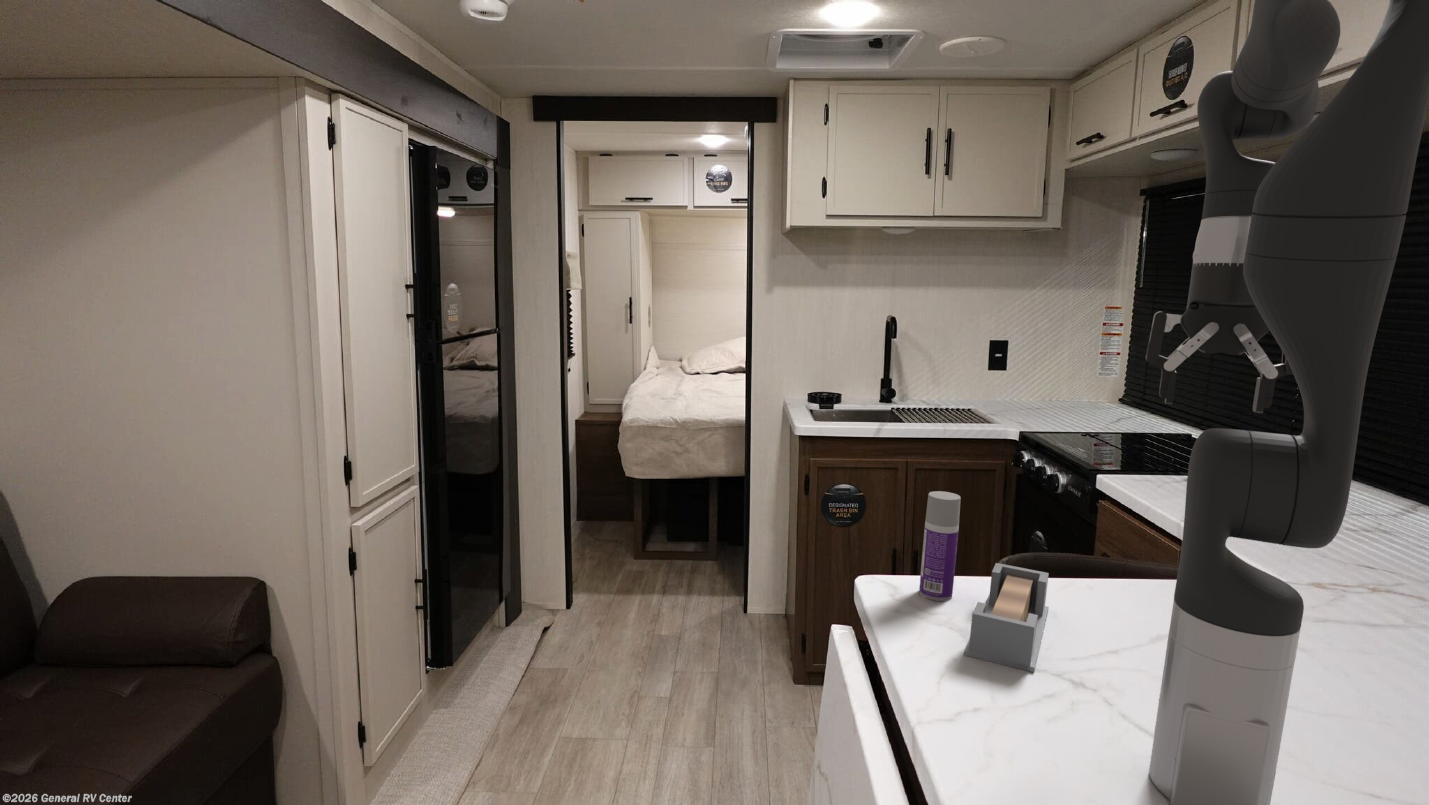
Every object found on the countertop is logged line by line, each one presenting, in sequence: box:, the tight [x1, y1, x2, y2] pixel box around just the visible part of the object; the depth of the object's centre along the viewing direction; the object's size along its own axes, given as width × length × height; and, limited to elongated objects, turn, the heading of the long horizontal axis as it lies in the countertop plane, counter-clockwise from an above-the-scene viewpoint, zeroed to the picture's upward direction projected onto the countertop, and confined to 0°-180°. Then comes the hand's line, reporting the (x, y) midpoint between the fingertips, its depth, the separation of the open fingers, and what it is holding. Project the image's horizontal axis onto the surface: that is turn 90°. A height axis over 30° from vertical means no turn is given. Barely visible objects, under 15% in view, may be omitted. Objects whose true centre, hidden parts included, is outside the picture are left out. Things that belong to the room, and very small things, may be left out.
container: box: [918, 490, 962, 602], centre depth 110 cm, size 5×5×15 cm
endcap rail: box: [963, 562, 1050, 673], centre depth 100 cm, size 20×8×6 cm, turn 152°
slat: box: [991, 575, 1033, 622], centre depth 100 cm, size 16×3×4 cm, turn 152°
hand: (1212, 407), depth 86 cm, fingers open, 8 cm apart
